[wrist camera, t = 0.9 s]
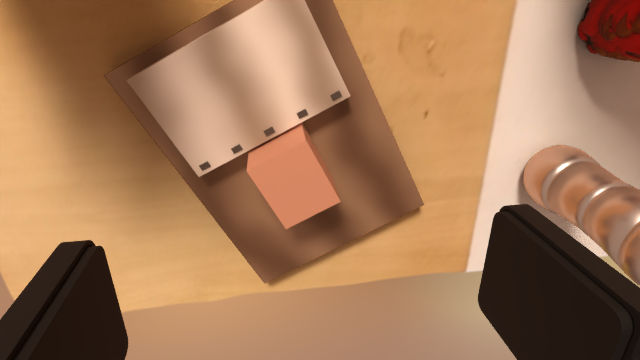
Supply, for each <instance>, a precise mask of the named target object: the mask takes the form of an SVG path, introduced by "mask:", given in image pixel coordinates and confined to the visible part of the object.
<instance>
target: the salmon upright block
mask: <svg viewBox="0 0 640 360" xmlns="http://www.w3.org/2000/svg"><path fill="white" fill-rule="evenodd" d="M247 173H248V174H249V176H250V177H251V178H252V180H253V181H254V183H255V184H256V186H257V187H258V189H259V190H260V192H261V193H262V195H263V196H264V198H265V199H266V201H267V202H268V204H269V205H270V207H271V208H272V210H273V211H274V212H275V214H276V215H277V217H278V218H279V220H280V221H281V223H282V224H283V226H284V227H285V229H288V228H290V227H292V226H294V225H296V224H298V223H300V222H302V221H304V220H306V219H308V218H310V217H312V216H313V215H315V214H317V213H319V212H321V211H323V210H325V209H327V208H329V207H331V206H333V205H335V204H337V203H339V202H341V201H340V198H339V195H338V192H337V189H336V186H335V183H334V181H333V178H332V175H331V173H330V171H329V169H328V168H327V166H326V164H325V162H324V161H323V159H322V157H321V155H320V153H319V152H318V150H317V148H316V146H315V144H314V143H313V141H312V139H311V137H310V136H309V134H308V132H307V130H306V128H305V127H304V125H303V123H302V122H301V123H299V124H298V125H296V126H294V127H292V128H290V129H288V130H286V131H284V132H283V133H281V134H279V135H277V136H275V137H273V138H271V139H269V140H268V141H266V142H264V143H262V144H260V145H258V146H256V147H254V148H253V149H251V150H249V151H248V163H247Z"/></svg>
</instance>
